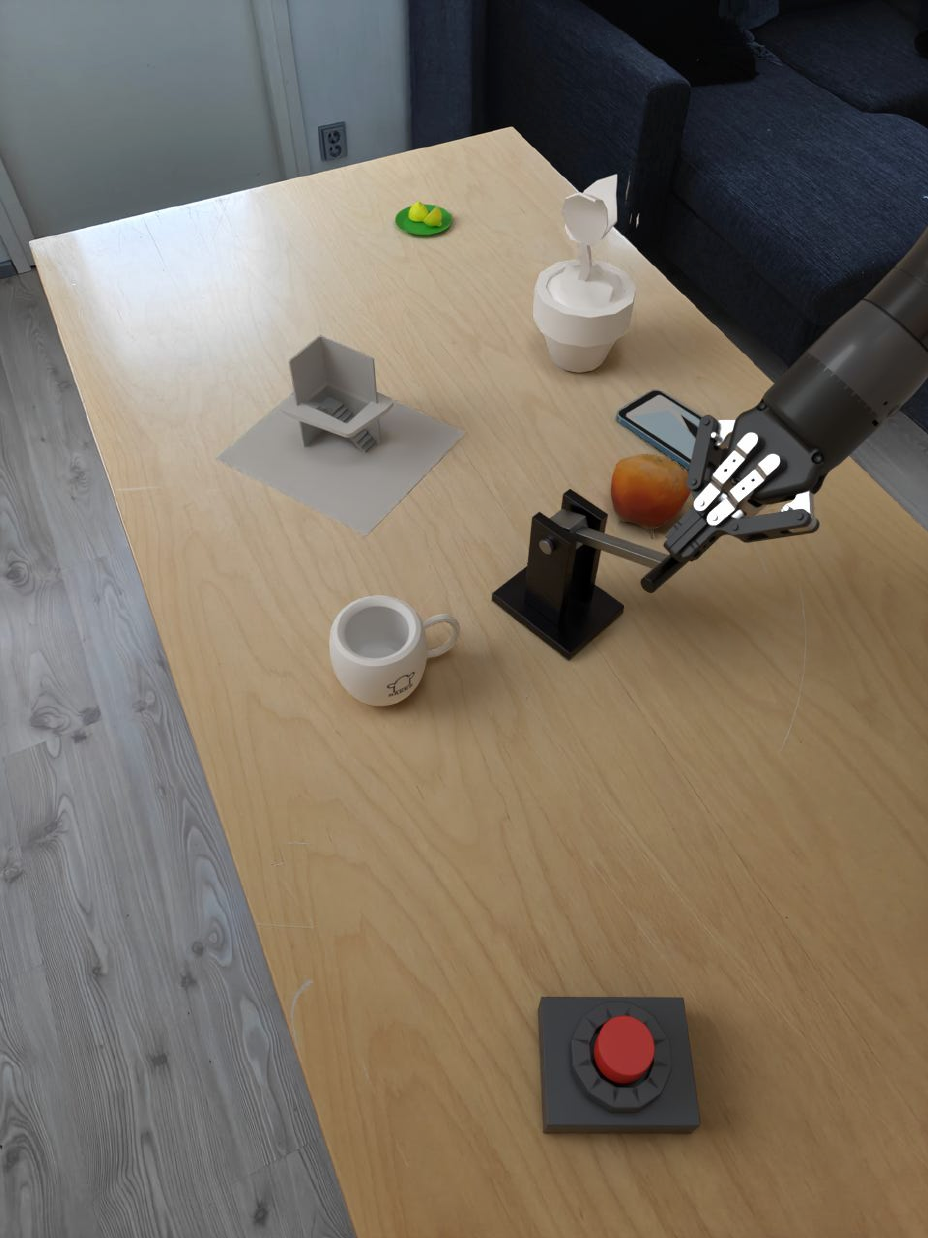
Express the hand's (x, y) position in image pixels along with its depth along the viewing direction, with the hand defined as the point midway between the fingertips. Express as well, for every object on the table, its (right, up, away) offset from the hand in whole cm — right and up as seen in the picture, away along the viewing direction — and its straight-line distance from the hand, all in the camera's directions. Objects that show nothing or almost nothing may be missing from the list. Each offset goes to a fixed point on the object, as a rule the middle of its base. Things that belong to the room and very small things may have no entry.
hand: (673, 554), depth 72 cm
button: (-6, -34, -11) cm, 36 cm away
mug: (-22, -10, +13) cm, 27 cm away
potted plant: (-2, +27, +41) cm, 49 cm away
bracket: (-7, -4, +17) cm, 19 cm away
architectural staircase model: (-30, +14, +31) cm, 45 cm away
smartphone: (+8, +15, +32) cm, 36 cm away
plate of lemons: (-22, +51, +59) cm, 81 cm away
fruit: (+3, +6, +25) cm, 26 cm away
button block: (-6, -37, -7) cm, 38 cm away
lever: (-4, 0, +6) cm, 7 cm away
